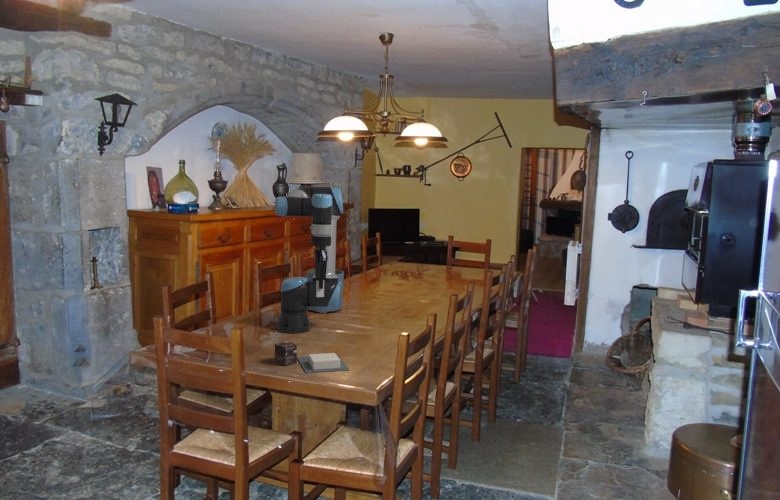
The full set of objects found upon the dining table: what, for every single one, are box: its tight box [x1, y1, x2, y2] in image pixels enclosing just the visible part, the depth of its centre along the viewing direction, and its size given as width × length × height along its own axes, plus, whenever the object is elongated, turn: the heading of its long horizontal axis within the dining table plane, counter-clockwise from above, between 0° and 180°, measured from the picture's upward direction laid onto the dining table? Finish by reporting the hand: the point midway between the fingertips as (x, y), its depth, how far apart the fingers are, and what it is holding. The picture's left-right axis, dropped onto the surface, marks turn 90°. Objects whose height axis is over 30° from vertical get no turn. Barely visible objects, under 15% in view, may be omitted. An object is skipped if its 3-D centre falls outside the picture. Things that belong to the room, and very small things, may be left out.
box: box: [274, 341, 298, 367], centre depth 232 cm, size 6×6×7 cm
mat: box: [297, 354, 350, 374], centre depth 233 cm, size 18×16×1 cm
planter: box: [306, 268, 345, 315], centre depth 318 cm, size 19×19×20 cm
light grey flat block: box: [308, 352, 342, 370], centre depth 230 cm, size 3×10×9 cm
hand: (319, 296), depth 236 cm, fingers closed
